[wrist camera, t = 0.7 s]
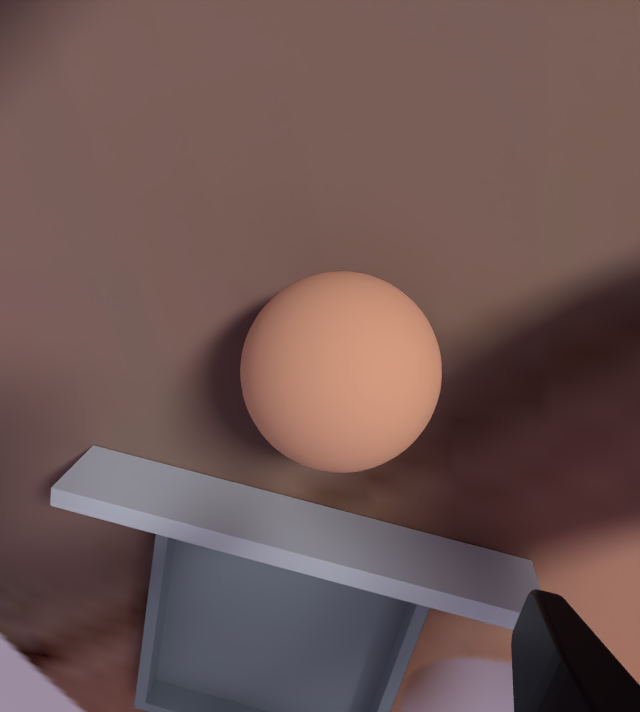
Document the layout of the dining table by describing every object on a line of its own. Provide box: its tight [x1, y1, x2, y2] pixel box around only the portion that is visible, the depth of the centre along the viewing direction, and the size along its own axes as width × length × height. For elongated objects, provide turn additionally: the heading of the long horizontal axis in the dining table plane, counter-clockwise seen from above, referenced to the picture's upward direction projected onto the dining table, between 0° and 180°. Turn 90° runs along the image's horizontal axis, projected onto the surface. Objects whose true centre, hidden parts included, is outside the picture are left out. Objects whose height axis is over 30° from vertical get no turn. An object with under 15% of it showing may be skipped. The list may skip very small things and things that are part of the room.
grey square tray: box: [134, 534, 430, 712], centre depth 25 cm, size 11×11×2 cm
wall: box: [50, 445, 540, 630], centre depth 21 cm, size 18×1×3 cm, turn 78°
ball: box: [240, 271, 442, 473], centre depth 17 cm, size 6×6×6 cm
